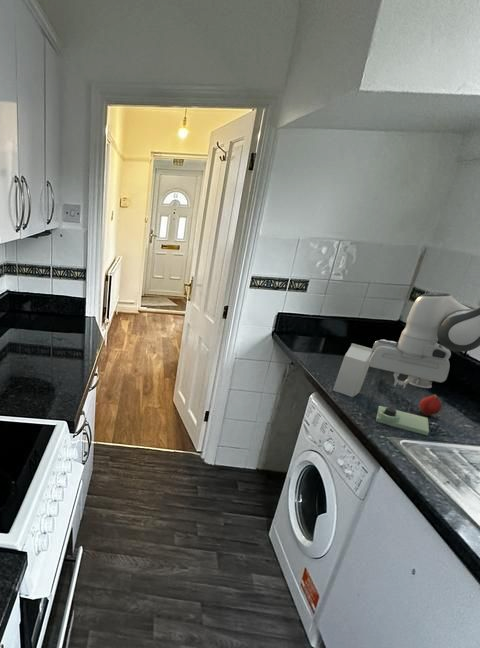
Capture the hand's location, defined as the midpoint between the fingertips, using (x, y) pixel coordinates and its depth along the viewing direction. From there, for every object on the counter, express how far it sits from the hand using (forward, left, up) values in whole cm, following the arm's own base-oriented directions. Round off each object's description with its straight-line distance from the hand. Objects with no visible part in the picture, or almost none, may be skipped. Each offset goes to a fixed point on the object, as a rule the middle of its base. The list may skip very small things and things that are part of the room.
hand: (399, 386), depth 132 cm
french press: (-9, -49, -13) cm, 51 cm away
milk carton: (+14, -18, -13) cm, 26 cm away
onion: (-11, -16, -13) cm, 23 cm away
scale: (-4, -4, -13) cm, 14 cm away
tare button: (0, 0, -10) cm, 10 cm away
